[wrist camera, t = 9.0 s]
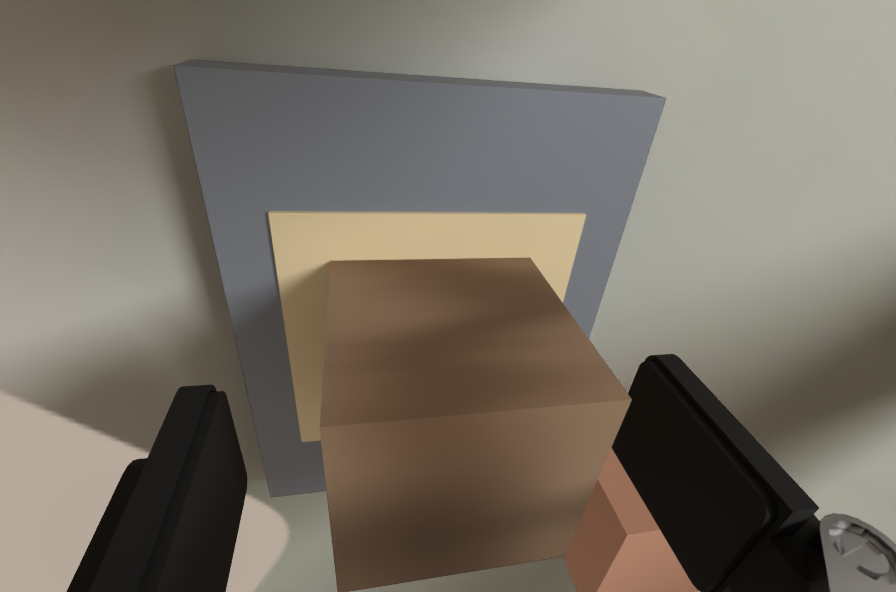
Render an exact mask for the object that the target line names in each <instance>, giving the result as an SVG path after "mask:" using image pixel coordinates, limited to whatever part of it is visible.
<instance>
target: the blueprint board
mask: <svg viewBox="0 0 896 592" xmlns="http://www.w3.org/2000/svg"><path fill="white" fill-rule="evenodd" d="M174 68H175V73H176V77H177V82H178V86H179V91H180V95H181V100H182V104H183V109H184V113H185V117H186V122H187V126H188V131H189V135H190V140H191V144H192V149H193V153H194V158H195V162H196V166H197V171H198V175H199V180H200V184H201V189H202V193H203V198H204V202H205V207H206V211H207V215H208V220H209V224H210V229H211V233H212V238H213V242H214V247H215V251H216V256H217V260H218V264H219V269H220V273H221V278H222V282H223V287H224V291H225V296H226V300H227V305H228V309H229V313H230V318H231V322H232V327H233V331H234V336H235V340H236V345H237V349H238V354H239V358H240V362H241V367H242V371H243V376H244V380H245V385H246V389H247V394H248V398H249V403H250V407H251V411H252V416H253V420H254V425H255V429H256V434H257V438H258V443H259V447H260V452H261V456H262V460H263V465H264V469H265V474H266V478H267V483H268V487H269V492H270V496H271V497H278V496H287V495H296V494H304V493H313V492H321V491H327V490H326V481H325V472H324V463H323V454H322V444H321V435H320V414H321V399H322V384H323V369H324V354H325V339H326V324H327V309H328V294H329V279H330V264H331V261H340V260H402V259H465V258H527V257H530V258H531V259H532V261H533V262H534V263H535V265H536V266H537V268H538V269H539V270H540V272H541V273H542V275H543V276H544V277H545V279H546V280H547V282H548V283H549V284H550V286H551V287H552V289H553V290H554V291H555V293H556V294H557V296H558V297H559V298H560V300H561V301H562V303H563V304H564V305H565V307H566V308H567V310H568V311H569V312H570V314H571V315H572V317H573V318H574V319H575V321H576V322H577V324H578V325H579V326H580V328H581V329H582V331H583V332H584V333H585V335H586V336H587V338H588V339H589V336H590V333H591V330H592V327H593V324H594V321H595V318H596V315H597V311H598V308H599V305H600V302H601V299H602V296H603V293H604V290H605V287H606V284H607V280H608V277H609V274H610V271H611V268H612V265H613V262H614V259H615V256H616V253H617V250H618V246H619V243H620V240H621V237H622V234H623V231H624V228H625V225H626V222H627V219H628V216H629V212H630V209H631V206H632V203H633V200H634V197H635V194H636V191H637V188H638V185H639V181H640V178H641V175H642V172H643V169H644V166H645V163H646V160H647V157H648V154H649V151H650V147H651V144H652V141H653V138H654V135H655V132H656V129H657V126H658V123H659V120H660V117H661V113H662V110H663V107H664V104H665V101H666V98H665V97H661V96H658V95H655V94H651V93H648V92H645V91H638V90H624V89H609V88H594V87H580V86H565V85H551V84H536V83H522V82H507V81H492V80H478V79H463V78H449V77H434V76H420V75H405V74H391V73H376V72H361V71H347V70H332V69H318V68H303V67H289V66H274V65H260V64H245V63H230V62H216V61H201V60H188V61H185V62H183V63H180V64H177V65H174Z"/></svg>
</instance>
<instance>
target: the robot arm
mask: <svg viewBox="0 0 896 592" xmlns="http://www.w3.org/2000/svg"><path fill="white" fill-rule="evenodd" d="M628 395H629V396H630V398H631V399H632V401H631V403H630V405H629V408H628V410H627V412H626V414H625V417H624V419H623V421H622V424H621V426H620V428H619V431H618V433H617V435H616V438H615V440H614V442H613V445H612V449H613V451H614V453H615V455H616V456H617V458H618V460H619V461H620V463H621V465H622V466H623V468H624V470H625V471H626V473H627V475H628V476H629V478H630V480H631V482H632V483H633V485H634V487H635V488H636V490H637V492H638V493H639V495H640V497H641V498H642V500H643V502H644V503H645V505H646V507H647V509H648V510H649V512H650V514H651V515H652V517H653V519H654V520H655V522H656V524H657V525H658V527H659V529H660V530H661V532H662V534H663V536H664V537H665V539H666V541H667V542H668V544H669V546H670V547H671V549H672V551H673V552H674V554H675V556H676V557H677V559H678V561H679V563H680V564H681V566H682V568H683V569H684V571H685V573H686V574H687V576H688V578H689V579H690V581H691V583H692V584H693V585H694V587H695V588H696V589H697V590H699V591H701V592H896V544H895V543H894V542H893V541H891V540H890V539H889V538H888V537H887V536H886V535H884V534H883V533H882V532H880V531H879V530H877V529H876V528H874V527H873V526H871V525H869V524H867V523H865V522H863V521H862V520H860V519H857V518H854V517H851V516H848V515H845V514H836V513H833V514H829V515H826V516H824V517H823V518H822V519H821V520H820V521H819V520H818V519H817V518H816V516H815V515H814V513H815V512H816V511H817V510H818V509H819V507H818V506H817V505H816V504H815V503H814V501H813V500H812V499H811V498H810V497H809V496H808V495H807V494H806V493H805V492H804V491H803V490H802V489H801V488H800V486H799V485H798V484H797V483H796V482H795V481H794V480H793V479H792V478H791V477H790V476H789V475H788V474H787V473H786V471H785V470H784V469H783V468H782V467H781V466H780V465H779V464H778V463H777V462H776V461H775V460H774V459H773V458H772V457H771V455H770V454H769V453H768V452H767V451H766V450H765V449H764V448H763V447H762V446H761V445H760V444H759V443H758V442H757V440H756V439H755V438H754V437H753V436H752V435H751V434H750V433H749V432H748V431H747V430H746V429H745V428H744V427H743V425H742V424H741V423H740V422H739V421H738V420H737V419H736V418H735V417H734V416H733V415H732V414H731V413H730V412H729V410H728V409H727V408H726V407H725V406H724V405H723V404H722V403H721V402H720V401H719V400H718V399H717V398H716V397H715V395H714V394H713V393H712V392H711V391H710V390H709V389H708V388H707V387H706V386H705V385H704V384H703V383H702V382H701V380H700V379H699V378H698V377H697V376H696V375H695V374H694V373H693V372H692V371H691V370H690V369H689V368H688V367H687V365H686V364H685V363H684V362H683V361H682V360H681V359H680V358H679V357H678V356H676V355H674V354H665V355H652V356H649V357H647V358H646V360H645V361H644V362H643V363H641V365H640V366H639V369H638V371H637V373H636V376H635V378H634V380H633V383H632V385H631V388H630V390H629V392H628ZM246 490H247V473H246V469H245V465H244V461H243V457H242V453H241V450H240V446H239V442H238V438H237V434H236V430H235V427H234V423H233V419H232V415H231V411H230V407H229V404H228V400H227V396H226V393H225V392H224V391H220V392H217V391H216V388H215V387H214V385H200V386H185V387H180V388H179V389H178V391H177V393H176V395H175V397H174V399H173V401H172V404H171V406H170V408H169V411H168V413H167V415H166V417H165V420H164V422H163V424H162V427H161V429H160V431H159V433H158V436H157V438H156V440H155V442H154V445H153V447H152V449H151V452H150V454H149V456H148V458H146V459H137V460H134V461H132V462H131V463H130V464H129V465H128V466H127V468H126V470H125V471H124V473H123V475H122V477H121V479H120V481H119V483H118V485H117V487H116V489H115V492H114V494H113V496H112V498H111V500H110V502H109V504H108V506H107V508H106V511H105V513H104V515H103V517H102V519H101V521H100V523H99V525H98V527H97V529H96V531H95V534H94V535H93V538H92V540H91V542H90V544H89V546H88V548H87V550H86V552H85V554H84V556H83V558H82V561H81V563H80V565H79V567H78V569H77V571H76V573H75V575H74V577H73V580H72V582H71V584H70V586H69V588H68V590H67V592H225V591H226V587H227V582H228V577H229V572H230V567H231V563H232V558H233V553H234V548H235V543H236V539H237V534H238V529H239V524H240V519H241V514H242V510H243V505H244V500H245V495H246Z"/></svg>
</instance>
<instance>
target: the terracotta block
mask: <svg viewBox="0 0 896 592" xmlns="http://www.w3.org/2000/svg"><path fill="white" fill-rule="evenodd" d="M564 560H565V562H566V565H567V567H568V570H569V573H570V575H571V578H572V580H573V583H574V585H575V588H576V591H577V592H694V591H699V590H697V589H696V588H695V587H694V585H693V584H692V583H691V581H690V579H689V578H688V576H687V574H686V573H685V571H684V569H683V568H682V566H681V564H680V563H679V561H678V559H677V557H676V556H675V554H674V552H673V551H672V549H671V547H670V546H669V544H668V542H667V541H666V539H665V537H664V536H663V534H662V532H661V530H660V529H659V527H658V525H657V524H656V522H655V520H654V519H653V517H652V515H651V514H650V512H649V510H648V509H647V507H646V505H645V503H644V502H643V500H642V498H641V497H640V495H639V493H638V492H637V490H636V488H635V487H634V485H633V483H632V482H631V480H630V478H629V476H628V475H627V473H626V471H625V470H624V468H623V466H622V465H621V463H620V461H619V460H618V458H617V456H616V455H615V453H614V451H613V449H612V447H611V449H610V452H609V454H608V456H607V459H606V461H605V463H604V466H603V468H602V470H601V473H600V475H599V477H598V480H597V482H596V484H595V487H594V489H593V491H592V494H591V496H590V498H589V501H588V503H587V505H586V508H585V510H584V512H583V514H582V517H581V519H580V521H579V524H578V526H577V528H576V531H575V533H574V535H573V538H572V540H571V542H570V545H569V547H568V549H567V552H566V554H565V556H564Z"/></svg>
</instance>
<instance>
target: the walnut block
mask: <svg viewBox="0 0 896 592" xmlns="http://www.w3.org/2000/svg"><path fill="white" fill-rule="evenodd" d="M631 401H632V399H631V398H630V396H629V395H628V393H627V392H626V391H625V389H624V388H623V386H622V385H621V384H620V382H619V381H618V379H617V378H616V377H615V375H614V374H613V372H612V371H611V370H610V368H609V367H608V365H607V364H606V363H605V361H604V360H603V358H602V357H601V356H600V354H599V353H598V351H597V350H596V349H595V347H594V346H593V344H592V343H591V342H590V340H589V339H588V338H587V336H586V335H585V333H584V332H583V331H582V329H581V328H580V326H579V325H578V324H577V322H576V321H575V319H574V318H573V317H572V315H571V314H570V312H569V311H568V310H567V308H566V307H565V305H564V304H563V303H562V301H561V300H560V298H559V297H558V296H557V294H556V293H555V291H554V290H553V289H552V287H551V286H550V284H549V283H548V282H547V280H546V279H545V277H544V276H543V275H542V273H541V272H540V270H539V269H538V268H537V266H536V265H535V263H534V262H533V261H532V259H531V258H530V257H527V258H465V259H402V260H340V261H331V264H330V279H329V294H328V309H327V324H326V339H325V354H324V369H323V384H322V399H321V414H320V435H321V444H322V454H323V463H324V472H325V481H326V490H327V499H328V508H329V517H330V527H331V536H332V545H333V554H334V563H335V572H336V581H337V590H338V592H349V591H355V590H361V589H368V588H374V587H380V586H386V585H392V584H398V583H404V582H411V581H417V580H423V579H429V578H435V577H441V576H447V575H454V574H460V573H466V572H472V571H478V570H484V569H490V568H497V567H503V566H509V565H515V564H521V563H527V562H533V561H540V560H546V559H552V558H558V557H564V556H565V554H566V552H567V549H568V547H569V545H570V542H571V540H572V538H573V535H574V533H575V531H576V528H577V526H578V524H579V521H580V519H581V517H582V514H583V512H584V510H585V508H586V505H587V503H588V501H589V498H590V496H591V494H592V491H593V489H594V487H595V484H596V482H597V480H598V477H599V475H600V473H601V470H602V468H603V466H604V463H605V461H606V459H607V456H608V454H609V452H610V449H611V447H612V445H613V442H614V440H615V438H616V435H617V433H618V431H619V428H620V426H621V424H622V421H623V419H624V417H625V414H626V412H627V410H628V408H629V405H630V403H631Z"/></svg>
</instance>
